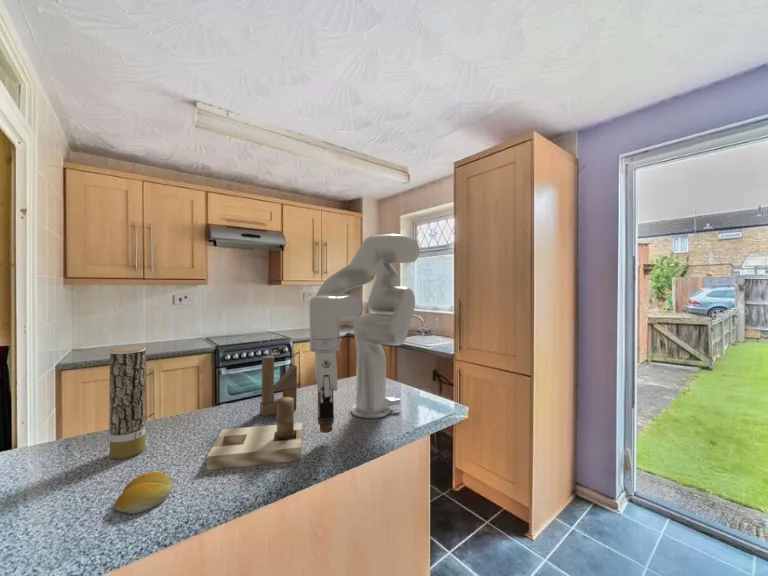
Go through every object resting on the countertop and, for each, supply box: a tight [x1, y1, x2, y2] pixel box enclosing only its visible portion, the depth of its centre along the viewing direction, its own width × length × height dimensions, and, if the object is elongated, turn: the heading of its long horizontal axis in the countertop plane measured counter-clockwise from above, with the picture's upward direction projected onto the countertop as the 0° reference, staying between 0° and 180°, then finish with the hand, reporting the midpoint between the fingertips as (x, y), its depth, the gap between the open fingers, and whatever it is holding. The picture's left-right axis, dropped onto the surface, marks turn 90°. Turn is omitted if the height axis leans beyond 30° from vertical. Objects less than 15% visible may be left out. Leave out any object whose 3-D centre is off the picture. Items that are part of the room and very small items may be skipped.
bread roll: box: [115, 471, 173, 514], centre depth 63 cm, size 8×9×4 cm
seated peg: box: [276, 396, 295, 441], centre depth 83 cm, size 4×4×12 cm
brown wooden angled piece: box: [259, 355, 298, 417], centre depth 107 cm, size 4×11×18 cm, turn 126°
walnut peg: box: [317, 388, 335, 434], centre depth 86 cm, size 4×4×12 cm
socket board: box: [206, 422, 303, 471], centre depth 82 cm, size 20×14×3 cm
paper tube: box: [108, 346, 147, 460], centre depth 80 cm, size 7×7×25 cm
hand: (325, 413), depth 86 cm, fingers closed on walnut peg, 4 cm apart
